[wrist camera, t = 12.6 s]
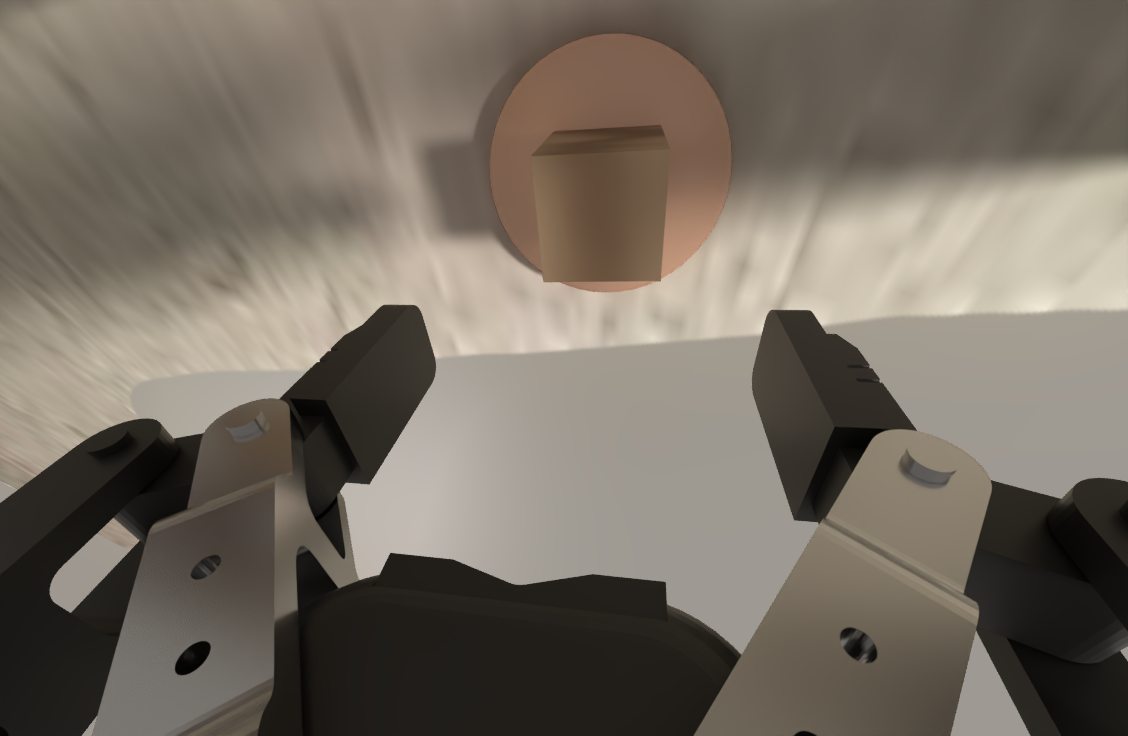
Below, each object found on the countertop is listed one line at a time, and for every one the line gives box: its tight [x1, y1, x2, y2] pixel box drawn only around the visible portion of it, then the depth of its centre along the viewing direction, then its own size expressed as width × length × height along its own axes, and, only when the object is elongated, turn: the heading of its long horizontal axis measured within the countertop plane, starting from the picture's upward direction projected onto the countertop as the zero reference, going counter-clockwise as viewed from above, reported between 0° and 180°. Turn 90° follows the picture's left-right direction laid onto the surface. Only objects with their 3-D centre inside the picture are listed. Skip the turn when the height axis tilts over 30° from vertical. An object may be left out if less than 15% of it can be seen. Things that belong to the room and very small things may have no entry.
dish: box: [490, 34, 732, 292], centre depth 22 cm, size 12×12×2 cm
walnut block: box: [531, 125, 670, 282], centre depth 19 cm, size 5×5×6 cm
